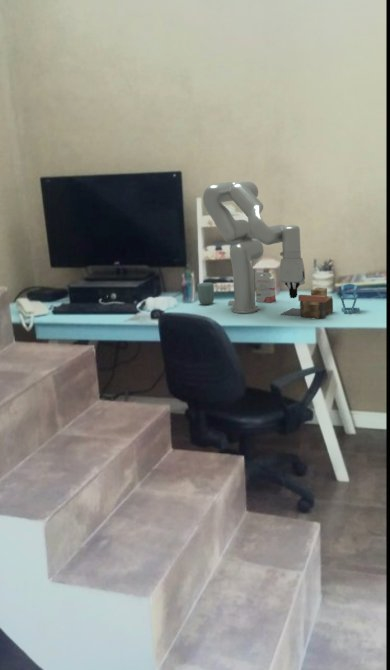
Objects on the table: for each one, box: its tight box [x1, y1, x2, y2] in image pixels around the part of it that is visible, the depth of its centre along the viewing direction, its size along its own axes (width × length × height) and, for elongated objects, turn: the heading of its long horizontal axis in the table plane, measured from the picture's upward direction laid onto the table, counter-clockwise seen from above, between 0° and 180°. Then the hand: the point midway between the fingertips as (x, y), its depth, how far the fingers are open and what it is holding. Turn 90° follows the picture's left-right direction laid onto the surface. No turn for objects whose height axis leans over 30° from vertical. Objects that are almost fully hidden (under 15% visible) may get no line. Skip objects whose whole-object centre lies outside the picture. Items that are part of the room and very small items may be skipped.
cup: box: [196, 282, 215, 306], centre depth 315 cm, size 8×8×10 cm
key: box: [297, 294, 327, 303], centre depth 272 cm, size 12×2×2 cm, turn 56°
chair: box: [340, 283, 361, 315], centre depth 278 cm, size 8×8×12 cm
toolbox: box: [299, 297, 334, 320], centre depth 277 cm, size 10×14×7 cm
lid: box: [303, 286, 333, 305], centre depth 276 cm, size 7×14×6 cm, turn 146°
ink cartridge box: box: [254, 271, 277, 304], centre depth 310 cm, size 9×5×15 cm, turn 55°
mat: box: [280, 307, 300, 317], centre depth 285 cm, size 10×12×1 cm
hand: (293, 297), depth 277 cm, fingers closed
